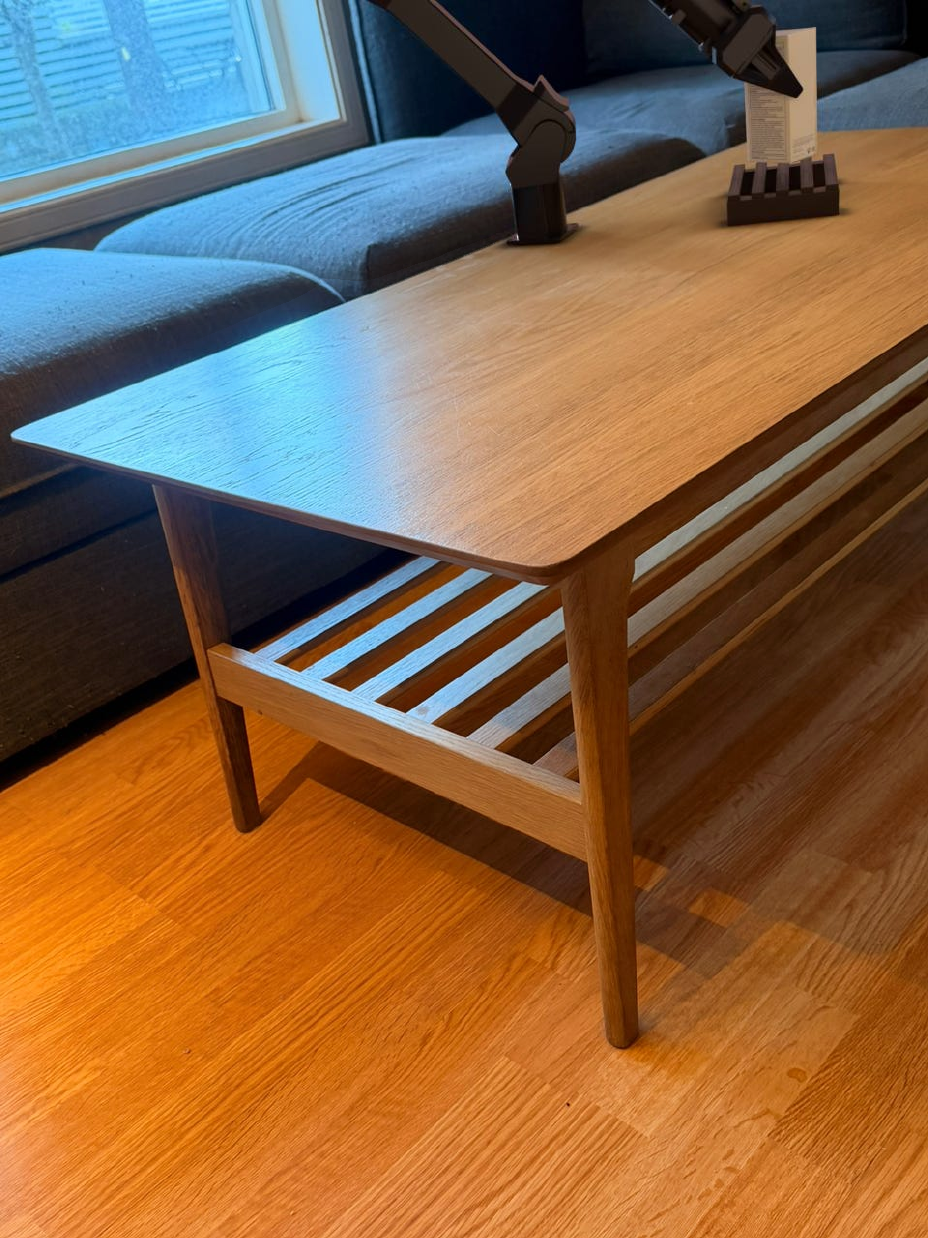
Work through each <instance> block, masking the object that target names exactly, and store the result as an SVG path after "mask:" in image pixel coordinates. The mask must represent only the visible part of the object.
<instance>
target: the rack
mask: <svg viewBox="0 0 928 1238" xmlns="http://www.w3.org/2000/svg"><path fill="white" fill-rule="evenodd" d="M838 177H839V176H838V171H837V165H836V157H835V153H832V152H831V153H825V154H822V160H813V156H812V157H809V158H807V159H804V160H801V161H799V162H795V163H777V165H770V166H768V163H766V162H763V163H762V162H755V167H753V168H746V163H741V164H734V166H733V169H732V174H731V179H730V183H729V188H728V192H727V195H726V197H727V198H726V225H727V227H732V226H742V225H751V224H761V223H770V222H779V221H790V220H791V221H792V220H801V219H808V218H810V219H811V218H818V217H828V216H837V215H838V216H839V215H840V197H841V196H840V194H841V193H840V189H841V188H840V186H839V185H840V184H839V178H838ZM823 186H825V187H823ZM814 187H820V188H814ZM795 189H796V191H795ZM797 189H800V190H797ZM789 190H794V191H789ZM768 192H769V193H768ZM770 192H775V193H770ZM767 193H768V194H767ZM742 195H750V196H742Z"/></svg>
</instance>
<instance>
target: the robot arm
mask: <svg viewBox="0 0 928 1238" xmlns="http://www.w3.org/2000/svg"><path fill="white" fill-rule="evenodd" d="M366 1H367V2H369V3H370V4H372V5H374V6H376V7H378V8H380V9H381V10H382V11H385V12H386V13H388V14H389V15H391V16H392V18H394V19H395V20H396V21H397V22H398V23H399V24H400V25H402V26H403V28H405V29H406V31H408V32H410V34H411V35H413V37H415V38H416V39H417V41H419V42H420V43H421V44H422V45H423V46H424V47H425V48H426V49H428V50H429V52H431V53H432V54H433V55H434V56H435V57H436V58H438V60H440V62H442V63H443V64H444V65H445V66H446V67H447V68H448V69H449V70H450V71H451V72H453V73H454V74H455V76H457V77H458V78H459V79H460V80H462V82H464V83H465V85H466V86H468V87H469V88H470V89H471V90H472V91H473V92H474V93H476V95H478V96H479V97H480V98H481V99H482V100H483V101H484V102H485V103H486V104H488V105H489V106H490V107H491V108H492V110H493V111H494V112H495V114H496V115H497V117H498V119H499V120H500V121H501V123H502V124H503V126H504V127H505V129H506V131H507V132H508V133H509V135H510V137H511V138H512V140H514V141H515V143H516V147H515V148H514V149H513V151H512V152H511V153H510V155H509V156H508V159H507V162H506V163H507V164H506V167H505V171H504V173H505V176H506V177H507V180H508V181H509V187H510V195H511V202H512V203H511V204H512V210H513V219H514V225H515V233H514V234H512V235H511V236H509V237H508V238H507V239H505V245H506V246H513V245H530V244H532V245H533V244H549V243H559V242H561V241H563V240H564V239H566V238H567V237H568V236H570V235H571V234H572V233H573V232H575V231H576V230H577V229H579V226H580V225H579V223H578V222H572V223H569V222H568V219H567V218H568V217H567V208H566V201H565V191H564V181H563V180H564V179H563V174H562V173H561V172H560V168H561V164H563V163H564V162H565V161H566V160H568V159H569V158H570V157H571V155H572V153H573V151H574V150H575V146H576V142H577V123H576V119H575V116H574V114H573V112H572V110H571V109H570V99H569V98H567V97H564V96H562V95H561V94H559V93H558V92H556V90H554V88H553V87H552V85H551V84H550V83H549V82H548V80H547V79H546V78H545V77H544V75H543V74H540V75H539V77H538V78H537V80H536V82H535V84H532V83H529V82H528V81H526V80H524V79H522V78H521V77H519V76H518V75H516V74H515V73H513V71H511V69H509V68H508V67H507V66H506V65H505V64H504V63H503V62H502V61H501V60H500V59H498V58H497V57H496V56H495V55H494V54H493V53H492V52H491V51H490V50H489V49H488V48H487V47H486V46H485V45H484V44H482V43H481V42H480V41H479V40H478V39H477V38H476V37H475V36H474V35H473V34H472V33H471V32H470V31H469V30H468V29H466V28H465V27H464V25H462V24H461V23H460V22H459V21H458V20H457V19H456V18H455V17H454V16H453V15H451V14H450V13H449V11H448V10H446V9H445V8H444V6H442V5H441V4H440V3H439V2H437V1H436V0H366ZM648 1H649V2H650V3H651V4H652V5H653V6H654V7H655V8H657V9H658V11H659V12H661V13H662V14H663V15H664V16H665V17H666V18H667V19H668V20H669V21H670V22H672V23H673V24H674V25H675V26H676V27H677V28H678V29H679V30H680V31H682V33H684V35H686V36H687V37H688V38H690V39H691V40H692V41H693V42H694V43H695V44H696V45H697V47H698V49H697V50H699V51H700V52H701V53H702V54H703V55H704V56H705V57H706V58H708V59H709V60H710V61H711V62H712V63H713V64H715V66H716V67H718V68H719V69H721V71H722V72H723V73H725V74H726V76H728V77H729V78H731V79H734V80H737V81H740V82H743V83H745V82H746V83H749V84H753V85H756V86H759V87H762V88H765V89H768V90H771V91H774V92H777V93H780V94H783V95H786V96H789V97H792V98H798V97H799V95H800V94H801V93H802V92H803V87H802V86H801V84H800V83H799V81H798V80H797V78H796V77H795V75H794V74H793V72H792V71H791V69H790V68H789V66H788V65H787V63H786V62H785V60H784V59H783V57H782V56H781V54H780V53H779V51H778V50H777V48H776V31H778V23H777V20H778V19H777V18H776V17H775V16H774V15H773V14H772V13H771V12H770V11H768V9H766V7H764V6H763V5H760V4H759V3H758V4H750V3H751V2H752V0H648Z"/></svg>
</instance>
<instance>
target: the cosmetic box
mask: <svg viewBox="0 0 928 1238" xmlns="http://www.w3.org/2000/svg"><path fill="white" fill-rule="evenodd" d="M776 48H777V50H778V51H779V53H780V54H781V56H782V57H783V59H784V60H785V62H786V63H787V65H788V66H789V68H790V69H791V71H792V72H793V74H794V75H795V77H796V78H797V80H798V81H799V83H800V84H801V86H802V87H803V92H802V93H801V94H800V95H799V97H798V98H792V97H789V96H786V95H783V94H780V93H777V92H774V91H771V90H768V89H765V88H762V87H759V86H756V85H753V84H749V83H746V82H744V103H745V125H746V126H745V127H746V129H745V130H746V151H747V162H748V163H757V162H762V163H763V162H766V163H767V164H768V163H769V164H770V163H771V164H778V163H789V164H794V163H798V162H800V161H801V160H804V159H807V158H809V157H812V158H813V157H814V156H816V155H818V110H817V109H818V105H817V104H818V102H817V101H818V100H817V99H818V98H817V97H818V96H817V95H818V94H817V93H818V92H817V90H818V89H817V27H815V26H813V27H805V28H794V29H793V28H792V29H791V28H790V29H782V30H776Z"/></svg>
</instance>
